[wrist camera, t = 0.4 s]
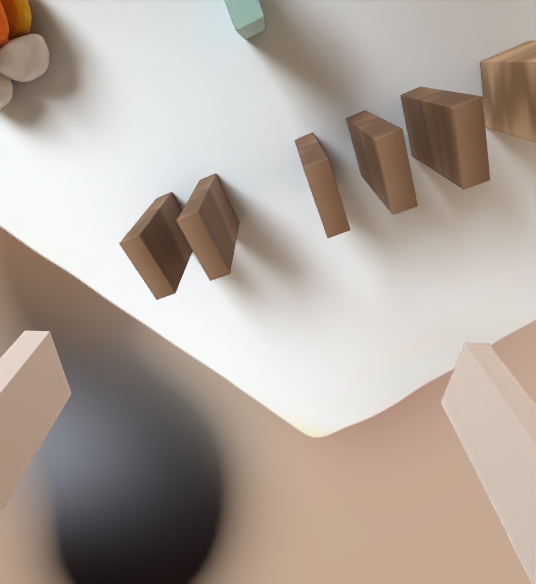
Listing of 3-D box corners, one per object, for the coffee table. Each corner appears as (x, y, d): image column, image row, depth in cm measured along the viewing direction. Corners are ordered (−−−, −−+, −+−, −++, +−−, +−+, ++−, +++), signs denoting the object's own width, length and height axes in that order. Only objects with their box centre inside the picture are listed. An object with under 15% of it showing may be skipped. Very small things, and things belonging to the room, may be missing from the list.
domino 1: (182, 244, 37) (156, 299, 28) (156, 198, 34) (119, 243, 26) (197, 239, 36) (175, 293, 28) (171, 192, 34) (139, 235, 25)
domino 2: (224, 228, 36) (210, 280, 27) (200, 180, 33) (176, 220, 25) (239, 222, 35) (229, 273, 27) (216, 173, 33) (197, 212, 25)
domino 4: (361, 175, 33) (393, 214, 25) (346, 118, 31) (375, 139, 22) (379, 168, 33) (417, 205, 24) (365, 110, 30) (402, 129, 22)
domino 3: (313, 194, 34) (327, 238, 26) (294, 140, 32) (303, 168, 23) (330, 187, 34) (350, 230, 25) (312, 132, 31) (328, 158, 23)
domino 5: (412, 155, 32) (463, 189, 24) (400, 95, 30) (453, 108, 21) (430, 148, 32) (489, 179, 23) (420, 86, 29) (482, 96, 21)
